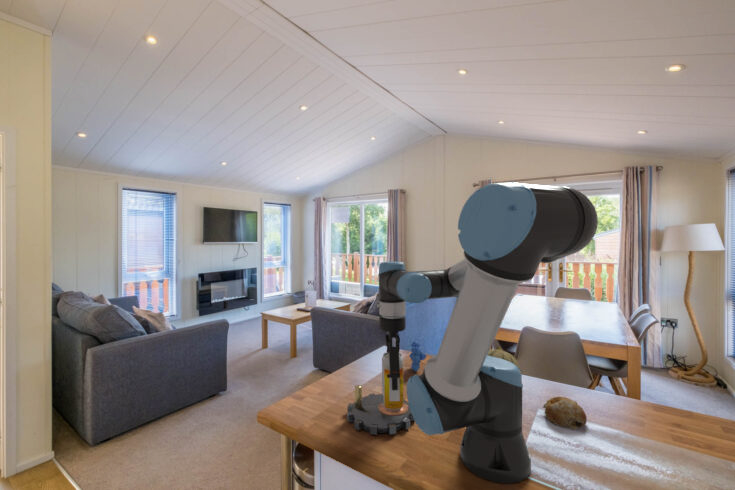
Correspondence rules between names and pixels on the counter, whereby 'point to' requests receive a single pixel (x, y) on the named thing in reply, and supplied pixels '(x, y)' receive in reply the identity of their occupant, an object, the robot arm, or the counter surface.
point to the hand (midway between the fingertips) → (392, 389)
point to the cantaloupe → (503, 356)
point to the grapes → (416, 356)
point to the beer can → (385, 384)
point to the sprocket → (377, 414)
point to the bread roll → (565, 413)
